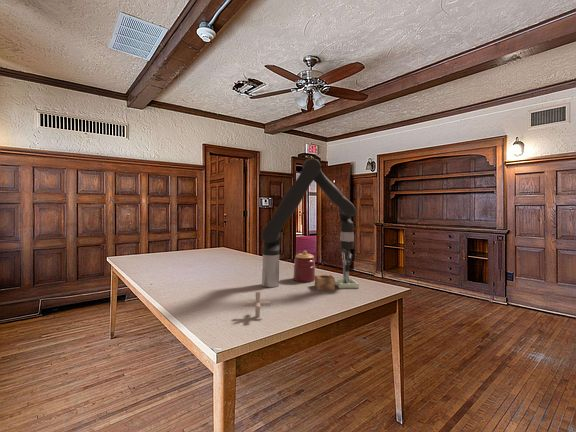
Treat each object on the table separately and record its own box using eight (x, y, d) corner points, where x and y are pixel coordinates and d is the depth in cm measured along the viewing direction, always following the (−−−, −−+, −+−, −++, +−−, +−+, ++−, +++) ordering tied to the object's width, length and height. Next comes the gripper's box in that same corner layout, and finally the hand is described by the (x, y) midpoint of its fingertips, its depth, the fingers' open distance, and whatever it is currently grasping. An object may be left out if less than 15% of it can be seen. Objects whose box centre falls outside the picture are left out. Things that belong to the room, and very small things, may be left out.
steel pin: (343, 284, 168) (344, 257, 168) (342, 282, 171) (342, 256, 171) (349, 284, 169) (350, 257, 168) (347, 282, 172) (348, 256, 171)
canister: (308, 283, 173) (309, 252, 173) (289, 280, 180) (289, 250, 180) (318, 279, 184) (319, 250, 184) (300, 276, 191) (301, 248, 191)
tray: (339, 288, 164) (339, 284, 164) (333, 283, 175) (333, 279, 175) (358, 288, 165) (358, 283, 165) (352, 283, 176) (352, 278, 176)
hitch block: (318, 290, 160) (318, 278, 160) (314, 285, 169) (314, 274, 169) (334, 289, 162) (334, 278, 161) (330, 285, 171) (330, 274, 170)
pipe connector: (245, 312, 125) (246, 288, 125) (269, 312, 126) (270, 288, 125) (244, 321, 115) (244, 295, 115) (270, 321, 116) (271, 295, 116)
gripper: (336, 238, 176) (336, 268, 176) (344, 241, 162) (343, 273, 162) (349, 238, 177) (348, 268, 177) (357, 241, 163) (356, 273, 163)
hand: (346, 270), depth 170 cm, fingers open, 3 cm apart
